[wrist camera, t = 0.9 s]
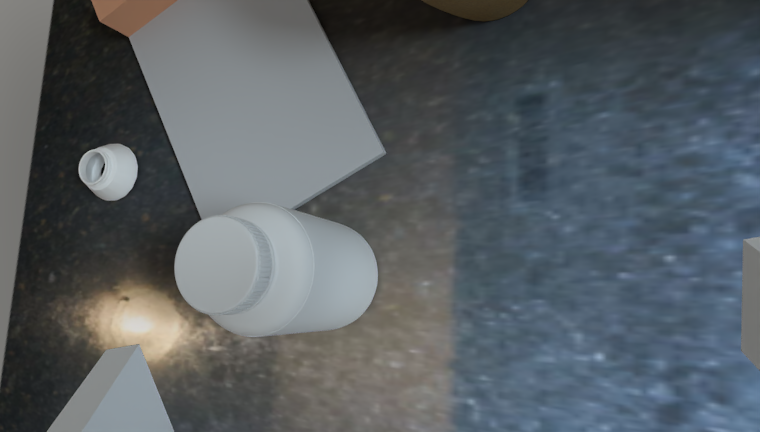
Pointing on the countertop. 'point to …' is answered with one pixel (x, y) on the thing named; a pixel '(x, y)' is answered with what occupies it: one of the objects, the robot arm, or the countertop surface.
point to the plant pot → (478, 8)
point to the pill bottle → (275, 271)
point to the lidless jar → (109, 171)
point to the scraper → (248, 97)
